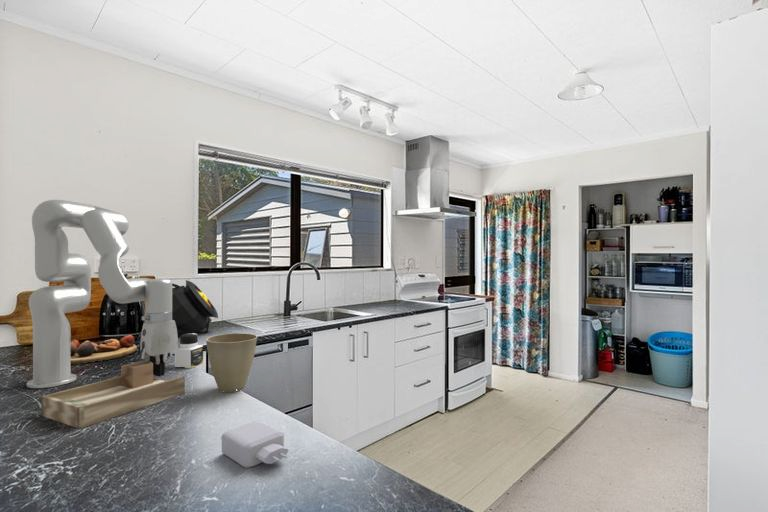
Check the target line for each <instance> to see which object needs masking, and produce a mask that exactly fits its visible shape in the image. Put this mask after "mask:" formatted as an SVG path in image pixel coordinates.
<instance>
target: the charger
mask: <svg viewBox="0 0 768 512" xmlns="http://www.w3.org/2000/svg"><path fill="white" fill-rule="evenodd" d="M288 452H289V449H288V448H286V447H285V433H284V431H281V430H280V429H277V428H275V427H273V426H271V425H269V424H267V423H265V422H263V421H260V420H255V421H252V422H249V423H246V424H243V425H240V426H237V427H233V428H231V429H229V430H227V431H225V432H224V433H222V435H221V453H222V454H224V455H225V456H226V457H228V458H230V459H231V460H233V461H235V463H237V464H239V465H240V466H242V467H243V468H251V467H254V466H257V465H260V464H261V463H264V464H268V465H273V464H274V463H276V462H280V461H281V460H283V459H287V458H288V455H287V454H288Z"/></svg>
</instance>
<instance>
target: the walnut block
mask: <svg viewBox="0 0 768 512" xmlns="http://www.w3.org/2000/svg"><path fill="white" fill-rule="evenodd" d="M120 376H121V386H124V387H128V388H132V389H134V388H137V387H141V386H144V385H148V384H151V383H153V378H154V374H153V363H151V362H148V361H144V360H141V361H135V362H132V363H128V364H123V365H121V366H120Z"/></svg>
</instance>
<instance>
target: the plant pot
mask: <svg viewBox="0 0 768 512" xmlns="http://www.w3.org/2000/svg"><path fill="white" fill-rule="evenodd" d="M257 341H258V335H256V334H252V333H245V332H244V333H243V332H242V333H241V332H240V333H239V332H235V333H222V334H216V335H211V336H209V337H207V338H206V339H205V342H206V350H207V355H208V360H209V365H210V368H211V372H212V375H213V378H214V382H215V383H216V386H217V389H218V391H219V390H220V391H219V392H221V391H224V392H223V393H234V391H236V389H237V390H238V391H236V392H239V391H242V390H243V389H244V388H245V386H246V383H247V381H248V378H249V376H250V373H251V368H252V366H253V363H254V357H255V353H256V349H257Z"/></svg>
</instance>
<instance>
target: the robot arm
mask: <svg viewBox="0 0 768 512" xmlns="http://www.w3.org/2000/svg"><path fill="white" fill-rule="evenodd" d="M31 225H32V231H33V235H34V271H35V275H36V278H37V279H38V280H40V281H41V282H46V283H58V282H60V283H61V282H63V285H62V284H61V285H51V286H49V285H48V286H44V287H40V288H37V289H36V290H34V291H33V292H32V293H31V294H30V296H29V298H28V307H29V311H30V315H31V321H32V379H31V380H28V381H27V382H26V388H28V389H45V388H46V389H47V388H53V387H58V386H64V385H67V384H69V383H73V382H75V381H76V380H77V374H74V373H72V371H71V368H72V367H71V341H72V339H71V337H72V335H71V324H70V322H69V320H68V318H67V316H66V314H69V313H70V314H71V313H75V312H76V313H77V312H81V311H83V310H85V309H87V307H88V306H89V305H90V302H91V300H92V299H91V298H92V270H91V269H92V268H91V264H90V262H89V260H88V259H87V258H86V256H84V255H82V254H79V253H71V252H70V253H69V241H68V237H67V235H66V233H65V231H64V230H63V227H65V228H66V227H68V228H76V229H77V228H78V229H83V231H84V232H85V234H86V235H87V238H88V239H89V241H90V242H91V244H92V246H93V248H94V249H95V252H96V253H97V255H98V257H99V262H98V269H97V273H98V274H97V275H98V276H97V277H98V280H99V282H100V284H101V286H102V287H103V289H104V290H105V293H106V294H107V296H108V297H109V298H110V299H111V300H112V301H113V302H115V303H117V304H122V305H123V304H131V303H138V302H139V303H140V302H143V301H145V302H144V304H145V308H144V309H145V311H144V312H145V313H144V315H142V316H141V321H144V322H143V325H142V329H141V332H140V333H141V334H140V335H141V336H140V347H139V349H140V354H141V358H140V359H141V361H149V363H153V377H154V376H155V377H161V376H163V377H164V376H165V373H166V372H165V371H166V363H167V362H168V359H169V357H170V356H172V355H175V352H176V351H175V350H177V348H179V338H178V333H177V328H176V324H175V321H174V320H172V288H173V286H172V284H173V281H172V280H171V279H168V278H147V277H135V278H126V277H125V275H124V273H123V272H122V270H121V268H120V263H119V259H121V258H122V257H123V256H126V254H128V252H129V249H130V247H129V245H128V243H127V241H126V240H125V238H124V237H123V236H124V235H125V234H126V233H127V231H128V230H129V221H128V219H127V217H125V215H124V214H122V213H121V212H119V211H114V210H109V209H108V208H104V207H101V206H96V205H93V204H88V203H84V202H83V203H81V202H76V201H71V200H66V199H65V200H64V199H48V200H45V201H43V202H41V203H39V204H38V205H37V206H36V207H35V209H34V210H33V212H32V215H31Z"/></svg>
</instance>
